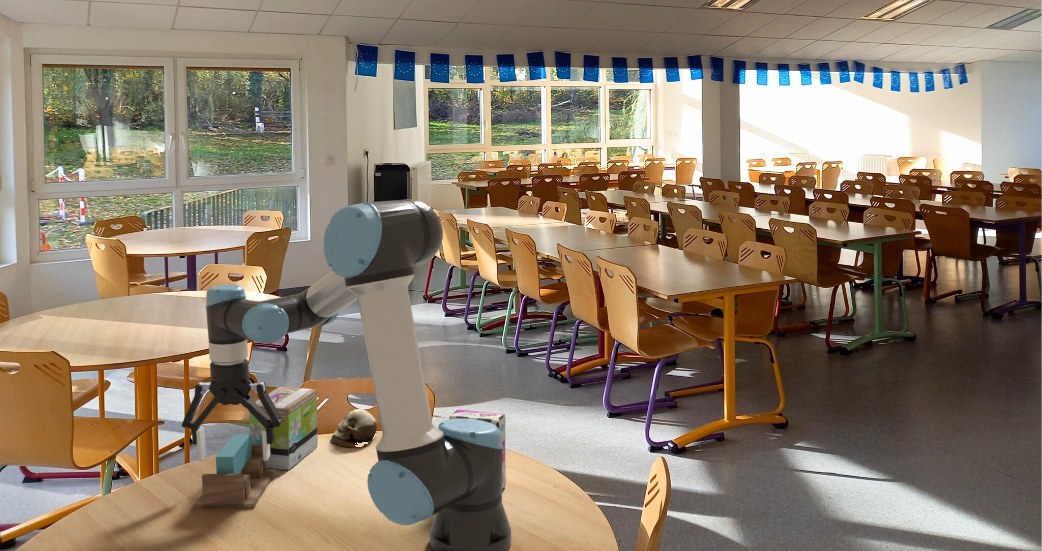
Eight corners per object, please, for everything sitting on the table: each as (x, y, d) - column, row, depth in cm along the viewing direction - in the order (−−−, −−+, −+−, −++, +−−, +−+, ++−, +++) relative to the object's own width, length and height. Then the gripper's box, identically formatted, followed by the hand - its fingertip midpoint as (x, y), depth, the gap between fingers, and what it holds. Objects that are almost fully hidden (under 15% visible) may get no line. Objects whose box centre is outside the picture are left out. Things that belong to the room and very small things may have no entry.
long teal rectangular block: (234, 480, 174) (233, 456, 173) (217, 480, 174) (215, 456, 173) (252, 455, 187) (250, 433, 186) (235, 455, 187) (234, 433, 186)
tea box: (290, 471, 191) (288, 408, 188) (249, 467, 193) (246, 404, 190) (319, 446, 206) (317, 387, 203) (280, 443, 208) (278, 384, 205)
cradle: (254, 508, 173) (252, 475, 171) (193, 508, 172) (191, 475, 171) (275, 473, 189) (273, 443, 188) (220, 474, 189) (218, 444, 188)
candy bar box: (506, 486, 184) (506, 413, 181) (498, 495, 179) (499, 421, 176) (457, 479, 187) (457, 407, 184) (449, 488, 182) (448, 415, 180)
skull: (320, 442, 205) (332, 403, 211) (337, 458, 214) (348, 420, 219) (365, 446, 202) (376, 406, 207) (381, 462, 210) (391, 423, 216)
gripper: (294, 355, 180) (298, 451, 184) (174, 355, 179) (181, 451, 183) (285, 365, 173) (290, 464, 176) (160, 365, 172) (167, 465, 175)
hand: (234, 458), depth 180 cm, fingers open, 13 cm apart
